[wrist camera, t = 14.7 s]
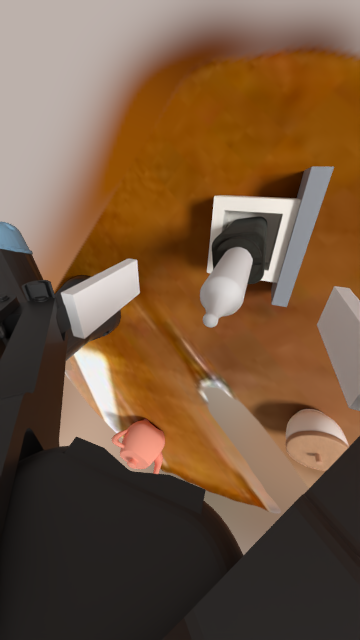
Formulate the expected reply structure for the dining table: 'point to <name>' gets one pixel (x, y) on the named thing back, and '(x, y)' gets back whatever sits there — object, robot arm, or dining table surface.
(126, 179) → the dining table surface
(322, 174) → the backstop wall
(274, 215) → the socket block
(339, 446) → the lidded jar
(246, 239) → the candle
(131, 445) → the teapot
